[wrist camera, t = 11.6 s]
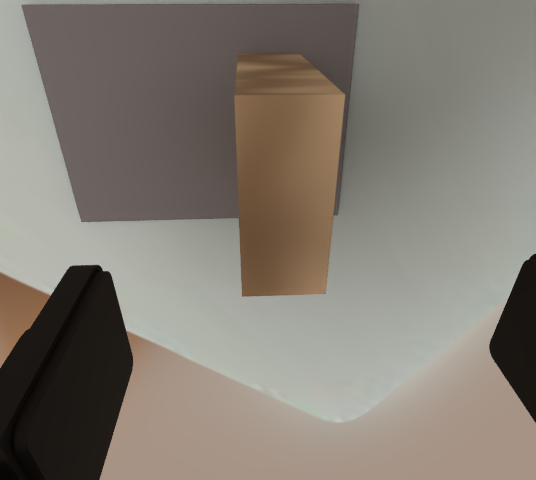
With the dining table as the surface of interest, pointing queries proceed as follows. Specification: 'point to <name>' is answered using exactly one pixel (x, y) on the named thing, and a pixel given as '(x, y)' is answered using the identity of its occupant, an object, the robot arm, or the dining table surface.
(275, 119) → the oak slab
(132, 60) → the mat
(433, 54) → the dining table surface
